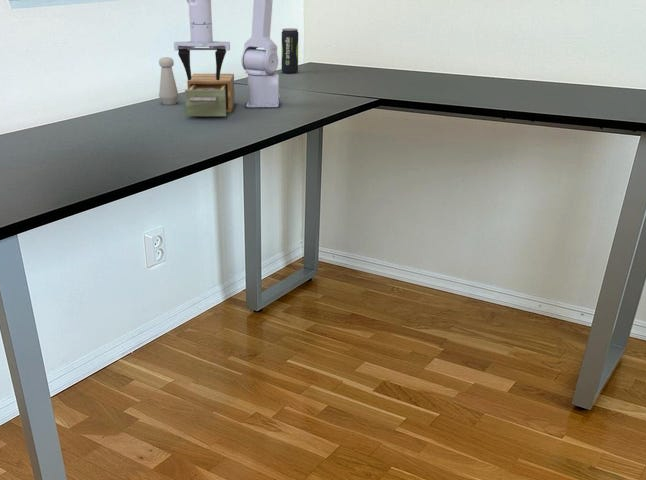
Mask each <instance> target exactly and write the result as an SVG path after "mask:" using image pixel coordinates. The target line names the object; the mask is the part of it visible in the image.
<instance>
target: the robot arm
mask: <svg viewBox="0 0 646 480" xmlns="http://www.w3.org/2000/svg"><path fill="white" fill-rule="evenodd" d="M186 2H187V4H188V16H189V32H190V40H189V41H174V42H173V47H174V48H173V51H176V52H177V51H178V53H177V54H178V57H179V58H180V61H181V63H182V65H183V69H184V70H185V73H186V78H187V81H188V80H191V76H192V71H191V69H192V68H191V51H215V52H214V54H215V69H216V70H215V74H216V80H219V79H220V74H221V70H222V66H223V63H224V59H225V56H226V54H227V52H228V51H231V42H230V41H218V40H215V41H214V40H213V39H214V37H213V19H212V18H213V15H212V0H186ZM272 15H273V0H253V6H252V21H251V22H252V23H251V36H250V37H249V38H248V39H247V41H245V42H244V45H243V51H242V54H241V59H240V61H241V66H242V68H243V70H244V71H245V74H247V95H248V97H247V98H248V99H247V100H248V101H247V103H246V106H245V107H246V108H279V107H280V101H281V94H280V75H279V74H278V73H275V72H276V71H277V69H278V66H279V56H278V45H277V44H276V43H275V42H274V41H273V40H272V39H271V31H272V30H271V29H272V28H271V27H272ZM259 48H261V49H259Z"/></svg>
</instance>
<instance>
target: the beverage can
mask: <svg viewBox="0 0 646 480" xmlns="http://www.w3.org/2000/svg"><path fill="white" fill-rule="evenodd" d="M281 30H282V31H281V72H282V73H283V74H286V75H287V74H288V75H290V74H291V75H292V74H297V73H298V71H299V31H298V30H299V29H298V28H294V27H293V28H282V29H281Z"/></svg>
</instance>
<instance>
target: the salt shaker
mask: <svg viewBox="0 0 646 480" xmlns="http://www.w3.org/2000/svg"><path fill="white" fill-rule="evenodd" d="M158 64H159V65H158V66H159V67H161V69H160V79H159V90H158V91H159V93H158V96H159V99H160V101H161V102H162V103H161V104H163V105H165V106H172V105H176V104H177V101H178V99H179V91H178V88H177V83H176V79H175V75H174V71H173V66H174V65H175V62H174V59H173V58H172V57H169V56H168V57H167V56H166V57H165V56H163V57H161V58H159V60H158Z"/></svg>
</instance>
